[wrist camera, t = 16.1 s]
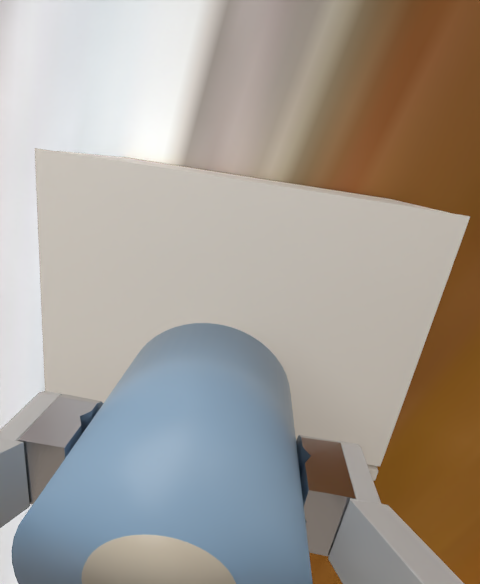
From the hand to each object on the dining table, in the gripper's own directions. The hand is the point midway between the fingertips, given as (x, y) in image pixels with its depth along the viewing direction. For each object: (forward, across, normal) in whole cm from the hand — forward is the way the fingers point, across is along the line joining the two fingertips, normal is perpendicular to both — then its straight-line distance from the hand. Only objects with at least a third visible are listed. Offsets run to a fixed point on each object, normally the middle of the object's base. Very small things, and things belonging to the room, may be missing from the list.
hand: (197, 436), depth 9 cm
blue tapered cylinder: (+2, 0, 0) cm, 2 cm away
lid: (+8, 0, 0) cm, 8 cm away
